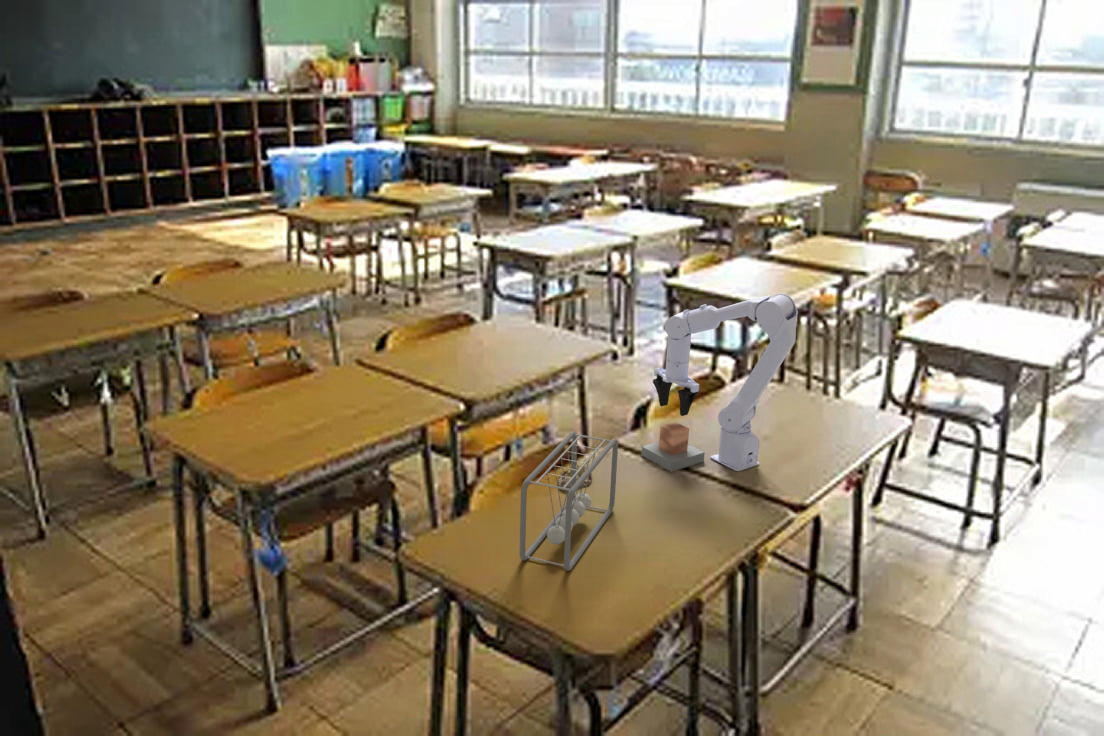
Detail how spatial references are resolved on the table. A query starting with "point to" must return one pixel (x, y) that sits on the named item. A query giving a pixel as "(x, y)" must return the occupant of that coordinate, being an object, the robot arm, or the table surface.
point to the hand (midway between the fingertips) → (673, 410)
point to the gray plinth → (672, 457)
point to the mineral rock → (568, 474)
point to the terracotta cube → (673, 438)
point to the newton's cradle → (568, 500)
